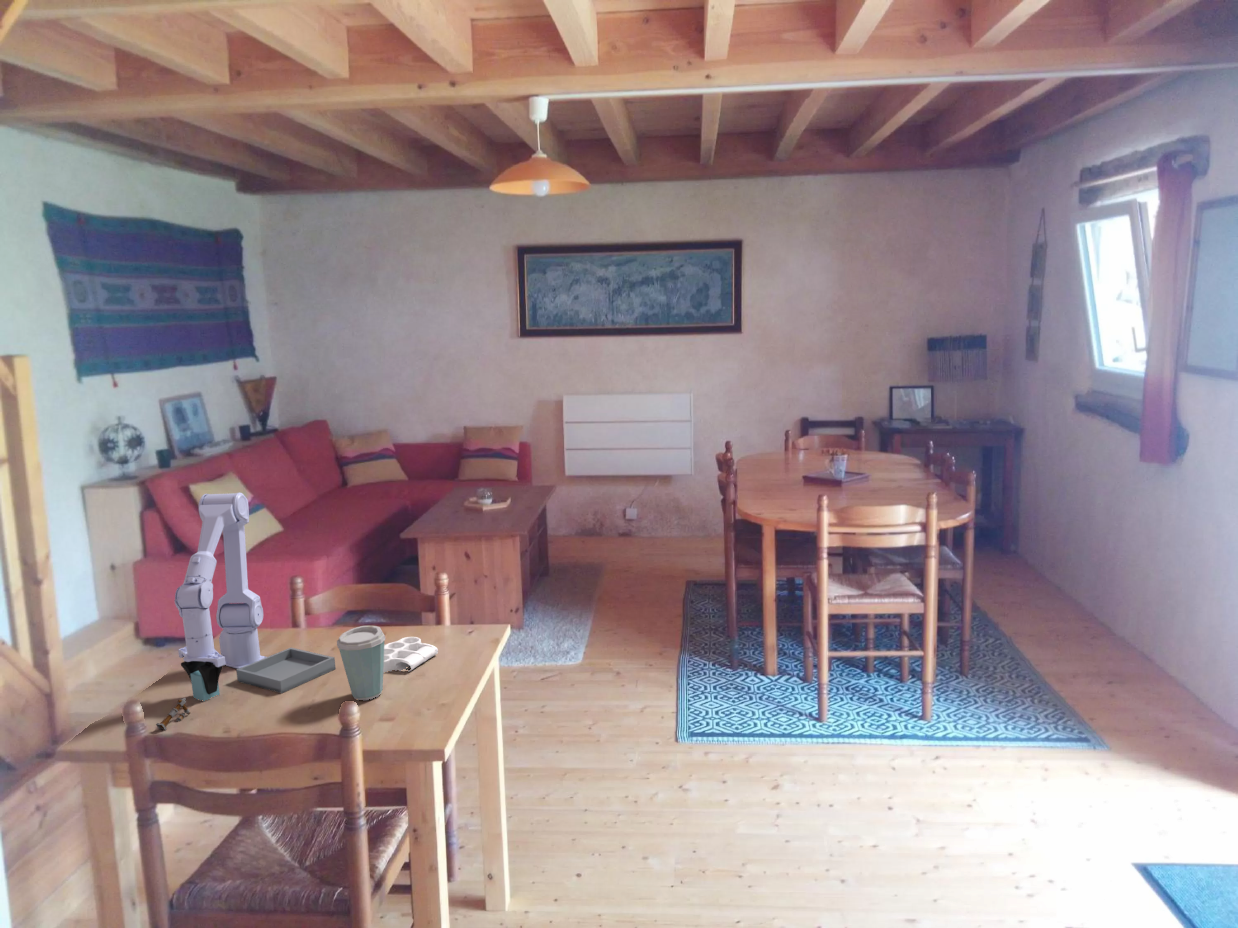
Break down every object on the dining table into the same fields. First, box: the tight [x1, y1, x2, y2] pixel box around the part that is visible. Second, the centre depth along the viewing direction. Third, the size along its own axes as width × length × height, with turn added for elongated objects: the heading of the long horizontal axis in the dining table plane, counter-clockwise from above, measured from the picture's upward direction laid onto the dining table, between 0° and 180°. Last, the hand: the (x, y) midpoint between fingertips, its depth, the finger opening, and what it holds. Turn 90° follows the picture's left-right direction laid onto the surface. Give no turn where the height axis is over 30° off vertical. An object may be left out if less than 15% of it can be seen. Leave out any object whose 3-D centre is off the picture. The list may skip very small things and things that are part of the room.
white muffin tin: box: [383, 636, 439, 674], centre depth 230 cm, size 3×18×15 cm
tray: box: [236, 647, 337, 694], centre depth 224 cm, size 16×16×3 cm
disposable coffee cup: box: [336, 625, 387, 701], centre depth 209 cm, size 11×11×15 cm
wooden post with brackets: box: [155, 697, 191, 731], centre depth 200 cm, size 2×8×4 cm, turn 160°
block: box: [190, 671, 221, 702], centre depth 213 cm, size 4×4×6 cm
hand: (205, 690), depth 213 cm, fingers closed on block, 4 cm apart
